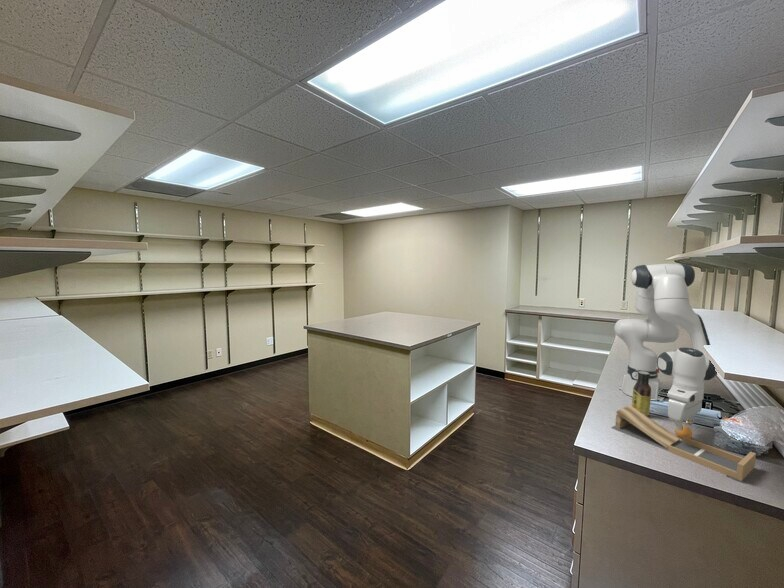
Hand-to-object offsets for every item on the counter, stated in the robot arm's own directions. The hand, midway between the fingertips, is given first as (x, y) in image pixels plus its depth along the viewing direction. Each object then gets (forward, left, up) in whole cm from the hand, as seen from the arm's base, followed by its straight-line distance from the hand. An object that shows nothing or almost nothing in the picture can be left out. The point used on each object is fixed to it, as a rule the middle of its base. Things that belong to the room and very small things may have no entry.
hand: (684, 426), depth 122 cm
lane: (+9, +1, -5) cm, 11 cm away
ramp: (+9, -8, -4) cm, 13 cm away
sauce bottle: (-8, -17, -5) cm, 19 cm away
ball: (-1, 0, -5) cm, 5 cm away
